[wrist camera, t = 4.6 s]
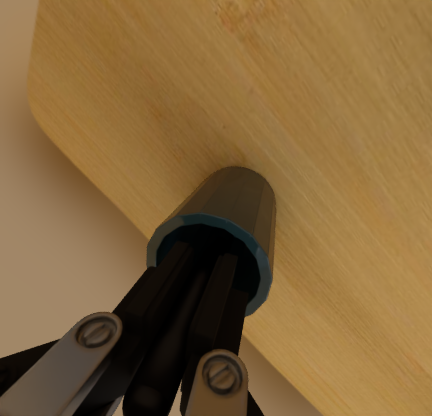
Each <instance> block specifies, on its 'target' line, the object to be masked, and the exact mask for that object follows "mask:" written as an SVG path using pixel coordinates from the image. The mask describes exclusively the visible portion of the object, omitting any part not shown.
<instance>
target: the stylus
mask: <svg viewBox="0 0 432 416" xmlns="http://www.w3.org/2000/svg"><path fill="white" fill-rule="evenodd" d="M233 236H234V235H232V234H231V233H229V232H228V231H226V230H225V229H222V228H217V227H214V229H213V231H212V232H211V234H210V236H209V238H208V240H207V242H206V244H205V245H204V247H203V249H202V251H201V253H200V255H199V257H198V258H197V260H196V262H195V264H194V266H193V268H192V270H191V272H190V274H189V276H188V278H187V279H186V281H185V283H184V285H183V287H182V289H181V291H180V293H179V294H178V296H177V298H176V300H175V302H174V304H173V306H172V307H171V309H170V311H169V313H168V315H167V317H166V319H165V320H164V322H163V324H162V326H161V328H160V330H159V332H158V333H157V335H156V337H155V339H154V341H153V343H152V345H151V347H150V348H149V349H148V351H147V353H146V355H145V357H144V359H143V360H142V362H141V364H140V366H139V368H138V370H137V372H136V373H135V375H134V377H133V379H132V381H131V383H130V385H129V386H128V388H127V390H126V393H125V395H124V399H123V407H122V410H123V416H168V415H169V413H170V410H171V407H172V405H173V402H174V399H175V397H176V394H177V391H178V388H179V386H180V383H181V380H182V377H183V374H184V372H185V369H186V361H185V352H186V345H187V337H188V332H189V329H190V325H191V322H192V320H193V317H194V315H195V313H196V310H197V308H198V305H199V303H200V300H201V298H202V296H203V293H204V291H205V288H206V286H207V283H208V281H209V279H210V276H211V274H212V271H213V269H214V266H215V264H216V262H217V259H218V257H219V255H222V256H224V254H225V253H228V250H229V247H230V244H231V242H232V239H233Z"/></svg>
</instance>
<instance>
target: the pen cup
mask: <svg viewBox="0 0 432 416" xmlns="http://www.w3.org/2000/svg"><path fill="white" fill-rule="evenodd" d="M214 227H217V228H222V229H225V230H226V231H228V232H229V233H231V234H232V235H234V236H233V239H232V242H231V244H230V247H229V250H228V254H232V255H236V256H238V259H237V263H236V268H235V273H234V277H233V282H232V287H231V288H233V289H236V290H240V291H243V292H247V293H249V295H248V301H247V307H246V313H245V317H246V316H249V315H251V314H253V313H254V312H255V311H256V310H257V309H258V308H259V307H260V306H261V305H262V304H263V303H264V302H265V301H266V299H267V298H268V294H269V291H270V287H271V284H272V281H273V264H274V246H275V228H276V199H275V195H274V192H273V190H272V188H271V186H270V185H269V183H268V182H267V181H266V180H265V179H264V178H263V177H262V176H261V175H259V174H258V173H256V172H255V171H253V170H250V169H248V168H244V167H226V168H222V169H220V170H217V171H216V172H214V173H212V174H211V175H210V176H209V177H208V178H206V179H205V180H204V181H203V182H202V183H201V184H200V185H199V186H198V187H197V188H196V189H195V190H194V191H193V192H192V193H191V194H190V195H189V196H188V197H187V198H186V199H185V200H184V201H183V202H182V203H181V204H180V205H179V206H178V207H177V208H176V209H175V210H174V211H173V212H172V213H171V214H170V215H169V216H168V217H167V218H166V219H165V220H164V221H163V222H162V223H161V224H160V225H159V226H158V228H157V229H156V230H155V232H154V234H153V236H152V237H151V239H150V241H149V243H148V246H147V268H148V267H149V266H154V267H158V266H159V264H160V263H161V262H162V260H163V259H164V258H165V256H166V255H167V254H168V252H169V251H170V250H171V248H172V247H173V246H174V244H175V243H176V242H177V241H182V242H185V243H189V244H191V248H194V258H193V266H194V264H195V262H196V260H197V258H198V257H199V255H200V253H201V251H202V249H203V247H204V245H205V244H206V242H207V240H208V238H209V236H210V234H211V232H212V231H213V229H214ZM193 266H192V268H193Z"/></svg>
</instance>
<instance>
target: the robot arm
mask: <svg viewBox="0 0 432 416" xmlns="http://www.w3.org/2000/svg"><path fill="white" fill-rule="evenodd" d="M193 258H194V248H191V244H189V243H185V242H182V241H177V242H176V243H175V244H174V246H173V247H172V248H171V250H170V251H169V252H168V254H167V255H166V256H165V258H164V259H163V260H162V262H161V263H160V264H159V266H158V267H154V266H149V267H148V268H147V270H146V271H145V272H144V273H143V275H142V276H141V277H140V278H139V280H138V281H137V282H136V283H135V284H134V286H133V287H132V288H131V290H130V291H129V292H128V293H127V295H126V296H125V297H124V298H123V299H122V301H121V302H120V303H119V304H118V306H117V307H116V308H115V309H114V311H113V312H112V313H110V312H97V313H93V314H90V315H88V316H86V317H84V318H83V319H81V320H80V321H79V322H77V323H76V324H75V325H74V326H73V328H71V329H70V330H69V331H68V332H67V333H66V334H65V335H64V336H63V337H62V338H61V339H58V340H55V341H52V342H49V343H46V344H43V345H40V346H37V347H34V348H31V349H28V350H25V351H21V352H18V353H16V354H12V355H9V356H6V357H3V358H0V416H112V415H113V414H114V412H115V410H116V409H117V407H118V405H119V404H120V402H121V400H122V397H123V395H125V393H126V390H127V388H128V386H129V385H130V383H131V381H132V379H133V377H134V375H135V373H136V372H137V370H138V368H139V366H140V364H141V362H142V360H143V359H144V357H145V355H146V353H147V351H148V349H149V348H150V347H151V345H152V343H153V341H154V339H155V337H156V335H157V333H158V332H159V330H160V328H161V326H162V324H163V322H164V320H165V319H166V317H167V315H168V313H169V311H170V309H171V307H172V306H173V304H174V302H175V300H176V298H177V296H178V294H179V293H180V291H181V289H182V287H183V285H184V283H185V281H186V279H187V278H188V276H189V274H190V272H191V270H192V266H193ZM237 259H238V256H236V255H232V254H228V253H225V254H224V256H222V255H219V257H218V259H217V262H216V264H215V266H214V269H213V271H212V274H211V276H210V279H209V281H208V283H207V286H206V288H205V291H204V293H203V296H202V298H201V300H200V303H199V305H198V308H197V310H196V313H195V315H194V317H193V320H192V322H191V325H190V329H189V332H188V337H187V345H186V352H185V361H186V369H185V372H184V374H183V377H182V383H181V392H182V395H181V403H180V412H181V415H182V416H264V415H263V413H262V411H261V410H260V408H259V406H258V405H257V403H256V402H255V400H254V399H253V397H252V395H251V394H250V392H249V391H248V372H247V369H246V367H245V364H244V363H243V361H242V360H241V359H240V358H239V357H238V352H239V346H240V341H241V335H242V330H243V324H244V318H245V313H246V307H247V301H248V295H249V293H247V292H243V291H240V290H236V289H233V288H231V287H232V282H233V277H234V273H235V268H236V263H237Z"/></svg>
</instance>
